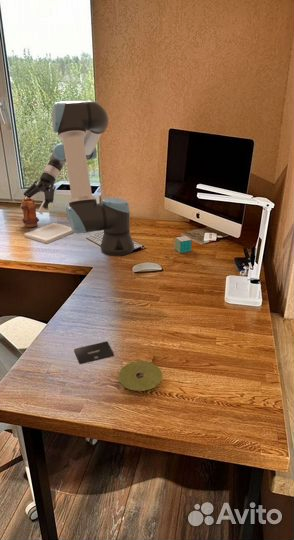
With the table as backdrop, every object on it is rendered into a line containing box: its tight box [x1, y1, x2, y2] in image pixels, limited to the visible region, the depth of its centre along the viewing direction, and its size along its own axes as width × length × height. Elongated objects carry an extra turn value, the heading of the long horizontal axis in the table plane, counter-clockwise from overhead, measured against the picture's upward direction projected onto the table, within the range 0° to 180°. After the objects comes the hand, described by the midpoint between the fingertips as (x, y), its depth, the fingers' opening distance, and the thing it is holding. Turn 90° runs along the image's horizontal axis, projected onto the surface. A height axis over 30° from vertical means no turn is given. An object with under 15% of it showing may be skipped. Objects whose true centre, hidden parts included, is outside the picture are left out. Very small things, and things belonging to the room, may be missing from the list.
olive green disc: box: [117, 360, 163, 392], centre depth 103 cm, size 11×11×2 cm
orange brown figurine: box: [20, 197, 40, 228], centre depth 205 cm, size 15×8×15 cm, turn 25°
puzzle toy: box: [174, 235, 193, 254], centre depth 179 cm, size 6×6×6 cm
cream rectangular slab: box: [23, 222, 75, 244], centre depth 199 cm, size 16×20×2 cm
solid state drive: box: [73, 341, 115, 365], centre depth 114 cm, size 7×10×1 cm
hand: (30, 210), depth 205 cm, fingers open, 13 cm apart
